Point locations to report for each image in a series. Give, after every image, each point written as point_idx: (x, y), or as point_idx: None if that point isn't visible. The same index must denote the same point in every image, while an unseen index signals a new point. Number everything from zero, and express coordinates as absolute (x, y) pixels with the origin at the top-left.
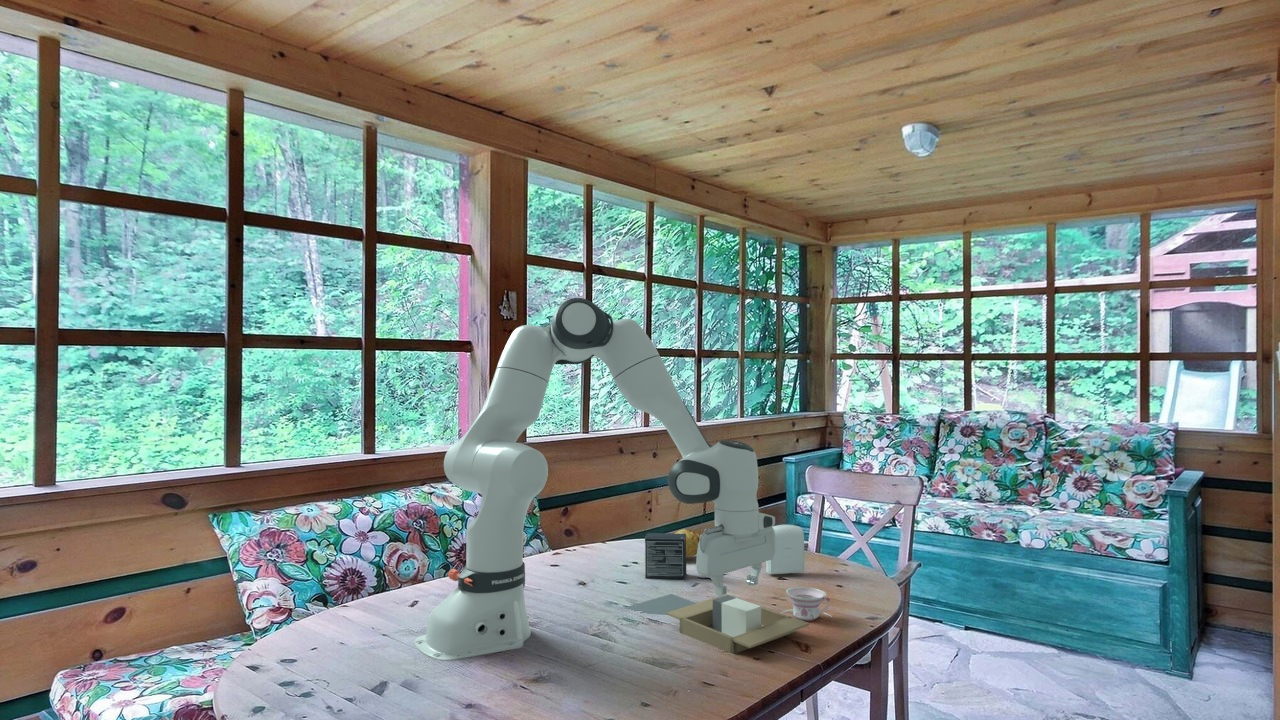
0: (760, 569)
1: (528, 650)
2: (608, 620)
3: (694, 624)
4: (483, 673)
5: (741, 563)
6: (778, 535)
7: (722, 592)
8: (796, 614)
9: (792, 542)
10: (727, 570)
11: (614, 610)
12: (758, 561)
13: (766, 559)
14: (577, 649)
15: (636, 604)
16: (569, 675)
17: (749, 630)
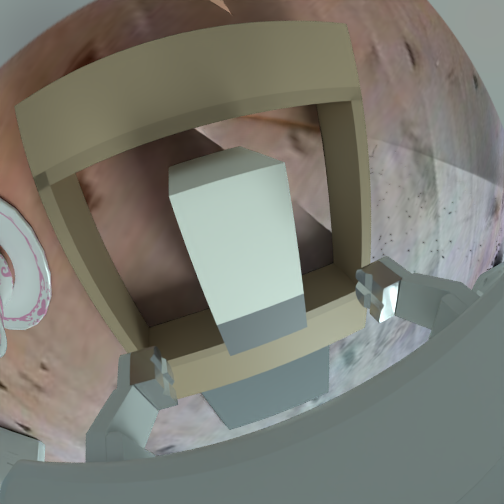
0: (96, 423)
1: (466, 282)
2: (370, 356)
3: (369, 245)
4: (498, 243)
5: (371, 425)
6: None
7: (392, 263)
8: (6, 273)
9: (4, 469)
10: (476, 318)
11: (339, 386)
12: (127, 475)
13: (53, 472)
14: (450, 270)
15: (308, 400)
16: (484, 202)
17: (234, 156)
